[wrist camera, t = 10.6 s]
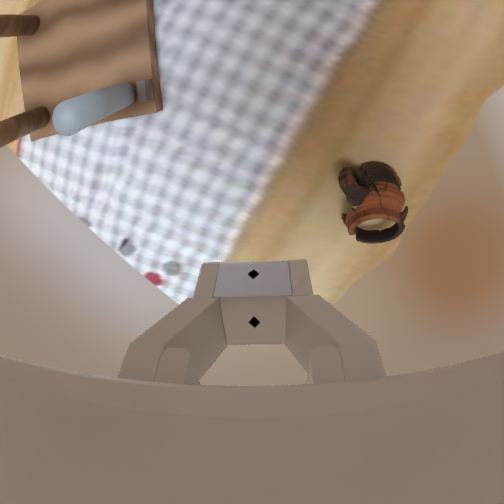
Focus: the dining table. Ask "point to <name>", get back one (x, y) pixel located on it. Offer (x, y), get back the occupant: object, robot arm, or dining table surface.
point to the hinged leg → (91, 107)
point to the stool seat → (81, 58)
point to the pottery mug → (373, 200)
